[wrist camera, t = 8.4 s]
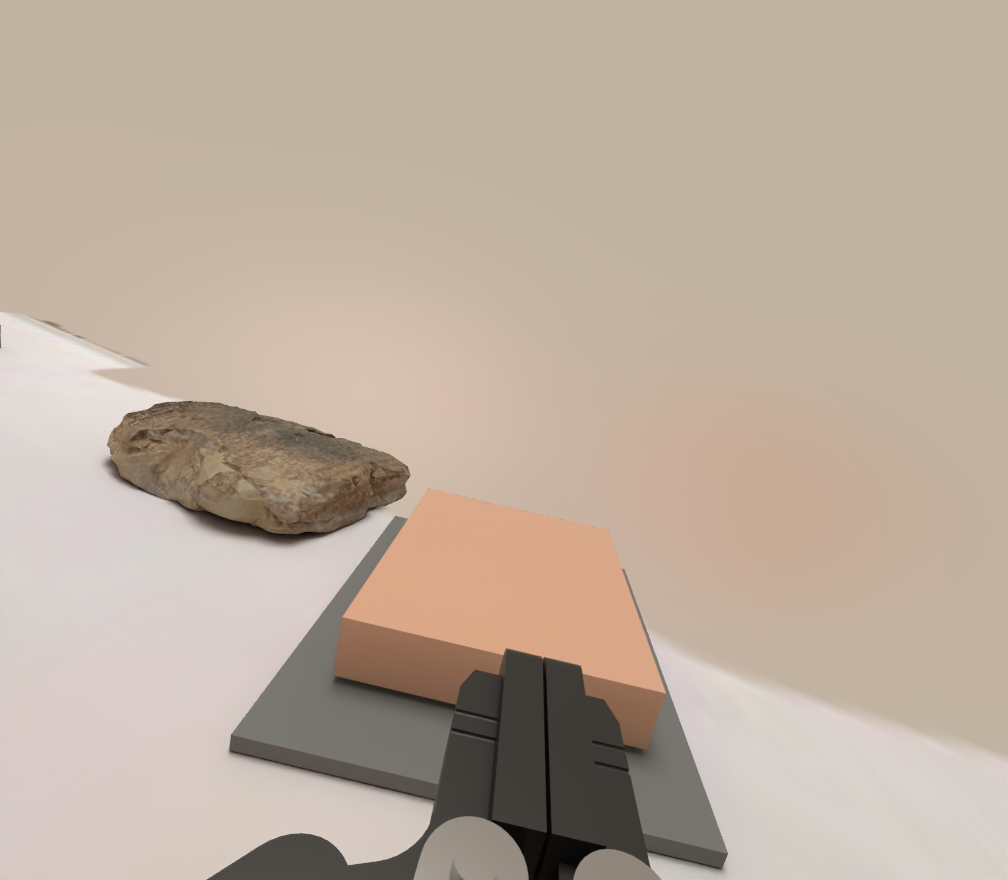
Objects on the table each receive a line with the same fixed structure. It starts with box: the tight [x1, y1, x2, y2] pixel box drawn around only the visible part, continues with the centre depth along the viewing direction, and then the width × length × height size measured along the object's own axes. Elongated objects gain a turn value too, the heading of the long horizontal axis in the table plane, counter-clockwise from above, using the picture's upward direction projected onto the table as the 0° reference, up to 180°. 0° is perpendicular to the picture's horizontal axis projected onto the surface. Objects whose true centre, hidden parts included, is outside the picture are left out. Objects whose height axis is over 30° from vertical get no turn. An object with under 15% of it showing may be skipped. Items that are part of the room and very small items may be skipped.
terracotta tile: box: [333, 489, 666, 750], centre depth 26 cm, size 12×3×15 cm
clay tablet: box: [107, 401, 410, 534], centre depth 36 cm, size 14×5×20 cm
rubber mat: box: [229, 516, 728, 868], centre depth 25 cm, size 16×19×1 cm
